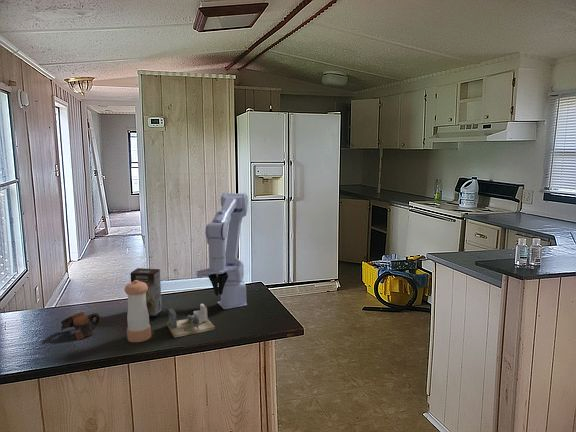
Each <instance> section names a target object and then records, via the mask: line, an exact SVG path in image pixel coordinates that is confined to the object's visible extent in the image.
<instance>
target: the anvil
mask: <svg viewBox="0 0 576 432" xmlns="http://www.w3.org/2000/svg"><path fill="white" fill-rule="evenodd" d="M167 313H168V315H167V316H168V322H169V324H170V326H171V327H172V329H174V328H177V321H178V319H177V313H176V311H175V310H174V308H172V307H171V308H168V310H167Z"/></svg>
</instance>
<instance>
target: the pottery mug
mask: <svg viewBox="0 0 576 432" xmlns="http://www.w3.org/2000/svg"><path fill="white" fill-rule="evenodd" d="M94 318H95V319H96V321H95V322H93V320H94ZM101 321H102V316H100V314H99V313H97V312H95V313H91V314H88V315H87V314H85V312H84V311H81V312H78V313H75V314H73V315H70V316H69V317H66V318H65V319H63V320H62V321H61V322H60V323H61V329H60V330H61V331H63V330H66V329H69V328H74V329H75V330H80V331H78V332H77V333H74V337H76V339H77V341H79V340H81V339H84V338H86V337H90V336H92V335H93V334H94V330H95V329H96V327H98V326H99V325H100V323H101Z"/></svg>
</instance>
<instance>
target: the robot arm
mask: <svg viewBox="0 0 576 432" xmlns="http://www.w3.org/2000/svg"><path fill="white" fill-rule="evenodd" d="M248 205H249V196H248V194H247V193H245V192H243V193H236V192H235V193H233V192H232V193H229V192H227V193H226V192H223V193H222V194H221V196H220V206H221V208H220V210H218V211H217V212H216V214H215V215H214V217H213V219H212V220H211V222H209V223H207V224H206V225H205V233H204V234H205V237H206V244H207V245H208V263H209V264H208V265H209V266H208V267H209V268H204V269H200V270H196V277H197V278H198V279H201V278H203V277H207V278H208V279H209V281H210V283H211V285H212V287H213V291H214V292H213V293H214V295H215V296H219V295H220V301H217V304H218V305H219V307H221V308H222V309H223V310H228V309H234V308H238V307H239V308H240V307H244V306H248V303H247V286H246V283H245V282H244V281H243V279H244V276H245V275H244V274H245V273H244V263H243V262H242V261H241V260H240V259H239V258H238V254H239V246H240V244H239V243H240V237H241V229H242V228H241V227H242V221H243V218H244V217H247V213H248V208H249V207H248Z"/></svg>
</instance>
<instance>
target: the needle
mask: <svg viewBox="0 0 576 432" xmlns="http://www.w3.org/2000/svg"><path fill="white" fill-rule="evenodd" d="M193 323H194V324H195V325H196V324H199V322H198V319H197V318H193Z"/></svg>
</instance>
